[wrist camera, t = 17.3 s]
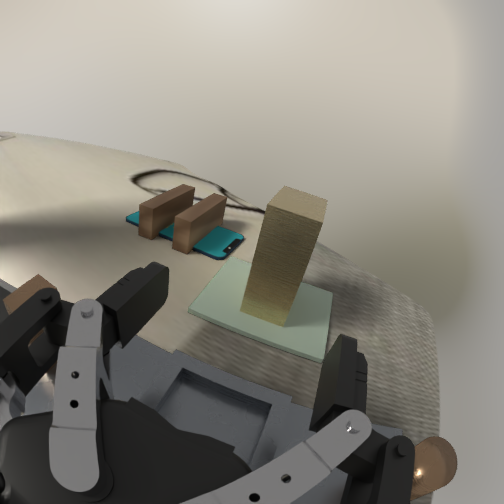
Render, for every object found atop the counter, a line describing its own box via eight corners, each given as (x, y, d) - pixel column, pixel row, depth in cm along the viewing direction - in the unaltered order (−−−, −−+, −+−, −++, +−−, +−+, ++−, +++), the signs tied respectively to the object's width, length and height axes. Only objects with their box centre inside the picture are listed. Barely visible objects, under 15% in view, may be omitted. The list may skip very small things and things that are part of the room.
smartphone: (156, 201, 40) (246, 234, 37) (155, 206, 40) (245, 240, 37) (123, 217, 34) (221, 259, 31) (123, 223, 34) (220, 265, 31)
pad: (187, 312, 23) (188, 308, 23) (230, 259, 32) (231, 256, 31) (321, 363, 21) (323, 359, 21) (331, 296, 30) (332, 292, 29)
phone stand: (138, 234, 32) (139, 204, 30) (179, 209, 40) (183, 184, 38) (187, 254, 31) (190, 222, 29) (222, 223, 39) (227, 197, 37)
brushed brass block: (239, 311, 24) (267, 204, 19) (259, 276, 29) (284, 185, 24) (282, 327, 23) (322, 222, 18) (295, 289, 28) (327, 200, 24)
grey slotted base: (6, 398, 11) (-42, 328, 7) (86, 320, 19) (72, 246, 16) (368, 559, 6) (453, 546, 3) (386, 440, 15) (448, 388, 12)
